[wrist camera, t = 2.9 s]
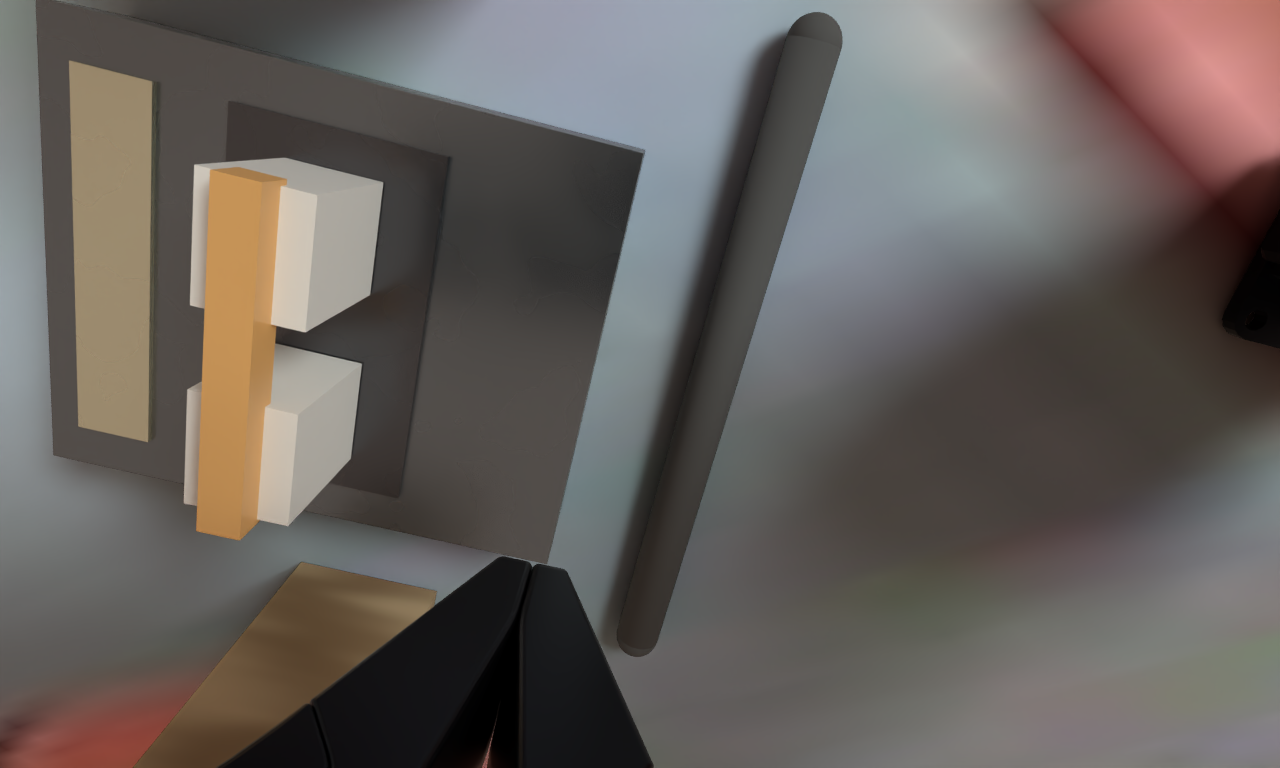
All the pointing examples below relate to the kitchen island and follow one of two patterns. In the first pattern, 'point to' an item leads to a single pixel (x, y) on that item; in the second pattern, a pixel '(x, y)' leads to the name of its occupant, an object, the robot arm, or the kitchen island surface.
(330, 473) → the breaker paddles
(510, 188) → the breaker panel
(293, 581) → the oak post
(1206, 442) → the kitchen island surface
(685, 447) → the dark gray rod
